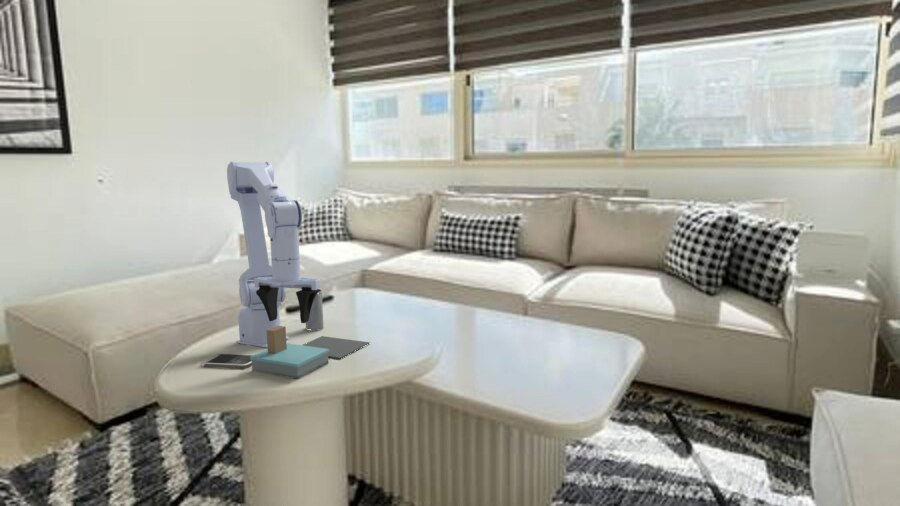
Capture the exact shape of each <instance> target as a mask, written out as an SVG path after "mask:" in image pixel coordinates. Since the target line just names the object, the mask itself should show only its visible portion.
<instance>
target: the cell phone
mask: <svg viewBox="0 0 900 506" xmlns="http://www.w3.org/2000/svg"><path fill="white" fill-rule="evenodd" d="M253 355H254V354H252V355H251V354H236V353H234V354H231V353H217V354H215V355H214V356H212V357H210V358H208V359H207V360H205V361H203V362H201V364H200V366H201V367H203V368H218V369H219V368H220V369H221V368H223V369H224V368H225V369H240V370H242V369H248V368H251V367H252V360H250V357H251V356H253Z"/></svg>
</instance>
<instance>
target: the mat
mask: <svg viewBox="0 0 900 506" xmlns="http://www.w3.org/2000/svg"><path fill="white" fill-rule="evenodd" d="M306 343H307V344H306ZM369 343H370V344H371V342H369V341H362V340H353V339H349V338H348V339H347V338H339V337H331V336H325V335H322V336H320V337H317V338H314V339H312V340H311V341H308V342H305V343H304V344H302V345H304V346H311V347H317V348H324V349H329V352H328V357H329V358H328V359H334V358H336V360H342V359H344V358H346V357H348V356H349V355H348V354H350V353H352V352H354V351H355V350H357V349H359V348H361V347H363V346H365V345H367V344H369ZM370 344H369V345H370ZM367 346H368V345H367ZM365 347H366V346H365ZM363 348H364V347H363ZM361 349H362V348H361ZM359 350H360V349H359ZM354 353H355V352H354ZM352 354H353V353H352ZM347 355H348V356H347ZM350 355H351V354H350ZM345 356H346V357H345ZM343 357H344V358H343ZM341 358H342V359H341Z"/></svg>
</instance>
